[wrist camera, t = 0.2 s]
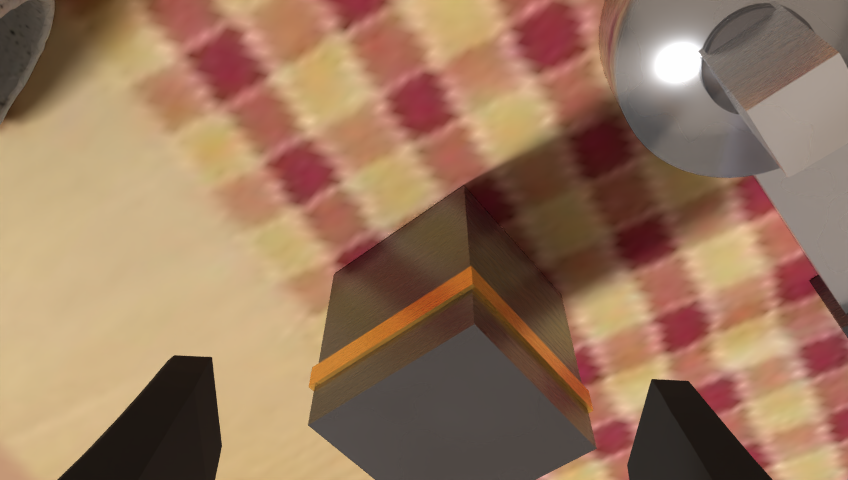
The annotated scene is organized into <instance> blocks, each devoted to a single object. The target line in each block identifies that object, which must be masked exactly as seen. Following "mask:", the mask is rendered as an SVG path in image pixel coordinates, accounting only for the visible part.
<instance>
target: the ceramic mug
mask: <svg viewBox="0 0 848 480" xmlns="http://www.w3.org/2000/svg"><path fill="white" fill-rule="evenodd" d="M54 11H55V0H0V124H1V123H2V121H3V120H4V118H5V116H6V114H7V112H8V110H9V108H10V107H11V105H12V103H13V102H14V100H15V99H16V97H17V96H18V94H19V93H20V92H21V90H22V89H23V88H24V86H25V84H26V83H27V81H28V79H29V77H30V75H31V73H32V71H33V69H34V67H35V65H36V63H37V61H38V59H39V57H40V55H41V53H42V52H43V50H44V48H45V42H46V40H47V39H48V37H49V35H50V31H51V28H52V23H53V17H54Z"/></svg>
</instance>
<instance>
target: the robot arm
mask: <svg viewBox="0 0 848 480" xmlns="http://www.w3.org/2000/svg"><path fill="white" fill-rule="evenodd" d="M221 448H222V443H221V434H220V425H219V416H218V408H217V399H216V390H215V381H214V372H213V363H212V357H196V356H176V355H174V356H173V357H172V358H171V359H169V360H168V361H167V362H166V364H165V365H164V366H163V367H162V368H161V369H160V371H159V372H158V373H157V374H156V375H155V377H154V378H153V379H152V380H151V381H150V382H149V384H148V385H147V386H146V387H145V388H144V389H143V391H142V392H141V393H140V394H139V395H138V396H137V397H136V399H135V400H134V401H133V402H132V403H131V404H130V405H129V406H128V408H127V409H126V410H125V411H124V412H123V413H122V414H121V415H120V416H119V418H118V419H117V420H116V421H115V422H114V423H113V424H112V425H111V426H110V427H109V428H108V429H107V430H106V431H105V432H104V433H103V435H102V436H101V437H100V438H99V439H98V440H97V441H96V442H95V443H94V444H93V445H92V446H91V447H90V448H89V449H88V450H87V451H86V452H85V453H84V454H83V455H82V456H81V457H80V458H79V459H78V460H77V461H76V462H75V463H74V464H73V465H72V466H71V467H70V468H69V469H68V470H67V471H66V472H65V473H64V474H63V475H62V476H61V477H60V478H59V479H58V480H215V477H216V472H217V467H218V462H219V457H220V453H221ZM627 466H628V473H629V480H772V479H771V477H770V476H769V475H768V474H767V473H766V472H765V471H764V470H763V469H762V467H761V466H760V465H759V464H758V463H757V462H756V461H755V460H754V458H753V457H752V456H751V455H750V454H749V453H748V451H747V450H746V449H745V448H744V447H743V446H742V444H741V443H740V442H739V441H738V440H737V439H736V437H735V436H734V435H733V434H732V433H731V431H730V430H729V429H728V428H727V427H726V425H725V424H724V423H723V422H722V421H721V419H720V418H719V417H718V416H717V415H716V413H715V412H714V411H713V410H712V409H711V407H710V406H709V405H708V404H707V403H706V401H705V400H704V399H703V398H702V397H701V395H700V394H699V393H698V392H697V391H696V389H695V388H694V387H693V386H692V385H691V384H690V382H689V381H678V380H657V379H652V380H651V383H650V387H649V390H648V394H647V397H646V401H645V404H644V408H643V411H642V415H641V419H640V422H639V426H638V429H637V433H636V436H635V440H634V443H633V447H632V450H631V454H630V458H629V461H628V465H627Z"/></svg>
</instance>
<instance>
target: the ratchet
mask: <svg viewBox="0 0 848 480" xmlns="http://www.w3.org/2000/svg"><path fill="white" fill-rule="evenodd" d="M599 50H600V59H601V63H602V67H603V71H604V74H605V76H606V79H607V81H608V83H609V86H610V88H611V90H612V92H613V94H614V96H615V98H616V100H617V102H618V104H619V106H620V108H621V110H622V112H623V114H624V116H625V118H626V120H627V122H628V124H629V126H630V127H631V129H632V130H633V132H634V134H635V135H636V136H637V138H638V139H639V140H640V141H641V142H642V144H643V145H644V146H645V147H646V148H647V149H649V150H650V151H651V152H652V153H653V154H654V155H655V156H657V157H658V158H660V159H662V160H663V161H665V162H666V163H668V164H670V165H672V166H674V167H676V168H679V169H681V170H683V171H687V172H690V173H694V174H697V175H703V176H709V177H722V178H733V177H746V176H751V175H753V176H754V177H755V179H756V180H757V182H758V184H759V185H760V187H761V188H762V190H763V191H764V193H765V194H766V196H767V197H768V199H769V200H770V202H771V203H772V205H773V206H774V208H775V209H776V211H777V212H778V214H779V215H780V217H781V218H782V220H783V222H784V223H785V225H786V226H787V228H788V229H789V231H790V232H791V234H792V235H793V237H794V238H795V240H796V241H797V243H798V244H799V246H800V247H801V249H802V250H803V252H804V253H805V255H806V257H807V258H808V260H809V261H810V263H811V264H812V266H813V267H814V269H815V270H816V272H817V273H818V275H819V276H817V277H816V278H814V279H812V280H810V282H811V284H812V285H813V287H814V288H815V290H816V291H817V293H818V294H819V296H820V297H821V299H822V300H823V302H824V303H825V305H826V306H827V308H828V309H829V311H830V312H831V314H832V315H833V317H834V318H835V320H836V321H837V323H838V324H839V326H840V327H841V329H842V330H843V332H844V333H845V335H846V336H847V338H848V0H605V3H604V7H603V10H602V15H601V21H600V27H599Z"/></svg>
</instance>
